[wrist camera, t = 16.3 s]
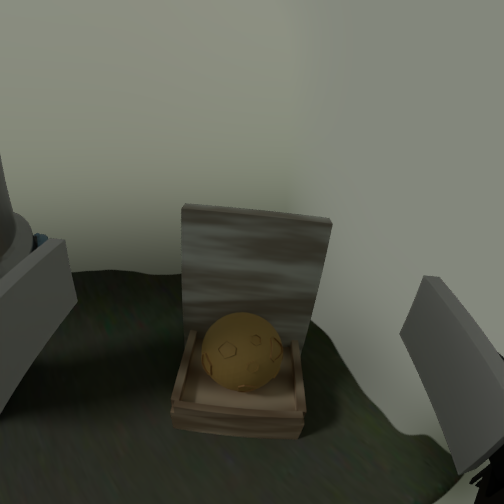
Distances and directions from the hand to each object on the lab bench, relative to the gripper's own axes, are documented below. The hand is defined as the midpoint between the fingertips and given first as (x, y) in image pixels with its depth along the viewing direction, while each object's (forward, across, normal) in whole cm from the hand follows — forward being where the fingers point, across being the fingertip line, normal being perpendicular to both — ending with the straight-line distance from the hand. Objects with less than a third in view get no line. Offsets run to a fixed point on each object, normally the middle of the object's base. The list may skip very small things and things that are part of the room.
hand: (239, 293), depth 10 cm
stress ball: (+18, 0, -26) cm, 32 cm away
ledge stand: (+19, +1, -30) cm, 36 cm away
